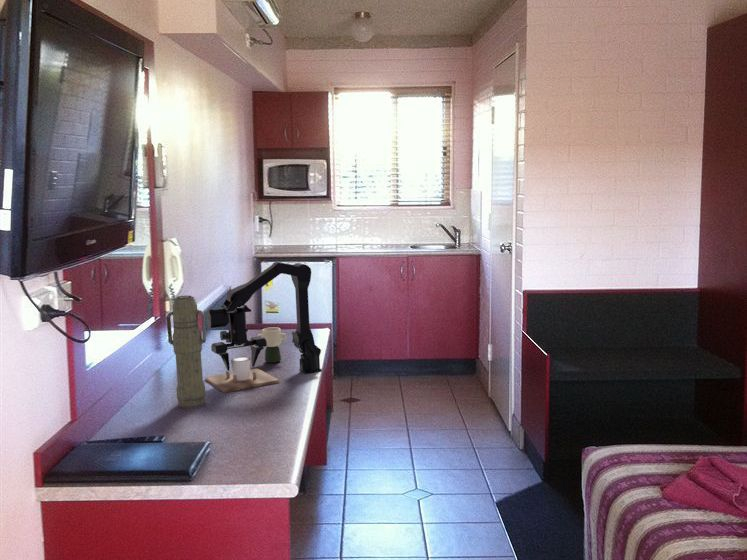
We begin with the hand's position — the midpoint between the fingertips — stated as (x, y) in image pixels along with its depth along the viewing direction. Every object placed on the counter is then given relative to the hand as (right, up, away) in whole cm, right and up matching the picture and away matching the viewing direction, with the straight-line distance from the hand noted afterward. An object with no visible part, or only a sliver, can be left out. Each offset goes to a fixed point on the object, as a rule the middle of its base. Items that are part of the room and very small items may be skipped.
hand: (240, 368), depth 277 cm
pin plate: (0, -5, +1) cm, 5 cm away
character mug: (+8, -1, +27) cm, 28 cm away
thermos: (-12, -9, -24) cm, 28 cm away
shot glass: (0, -4, +1) cm, 4 cm away
